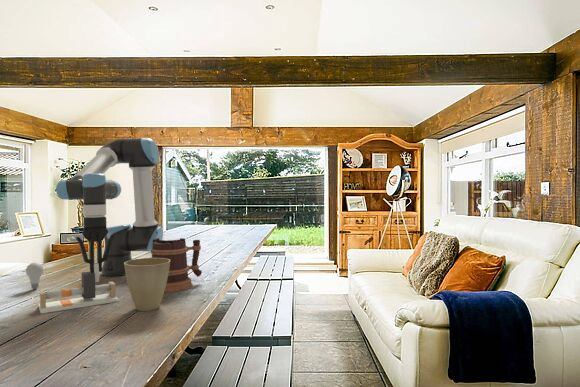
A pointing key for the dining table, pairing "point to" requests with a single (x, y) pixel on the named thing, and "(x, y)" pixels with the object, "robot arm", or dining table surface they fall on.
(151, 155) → the robot arm
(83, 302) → the rail
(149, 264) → the plant pot
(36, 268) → the lightbulb
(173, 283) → the mug
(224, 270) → the dining table surface
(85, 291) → the dark grey slider block
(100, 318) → the dining table surface
